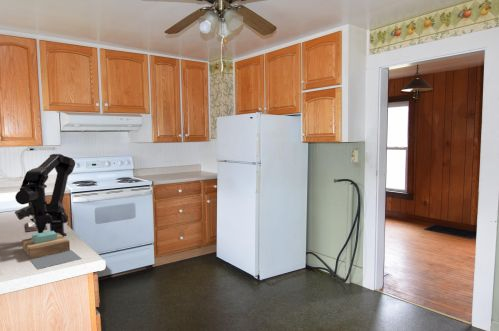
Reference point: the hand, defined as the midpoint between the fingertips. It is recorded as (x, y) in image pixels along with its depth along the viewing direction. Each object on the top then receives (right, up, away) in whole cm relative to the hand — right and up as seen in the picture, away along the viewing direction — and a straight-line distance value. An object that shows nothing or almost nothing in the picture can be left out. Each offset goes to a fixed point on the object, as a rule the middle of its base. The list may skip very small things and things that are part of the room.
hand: (40, 234), depth 154 cm
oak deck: (+6, -5, -6) cm, 10 cm away
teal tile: (+5, 0, -6) cm, 8 cm away
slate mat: (+16, -6, -17) cm, 24 cm away
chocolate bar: (-20, -2, +30) cm, 36 cm away
